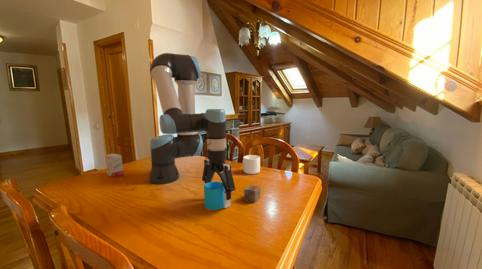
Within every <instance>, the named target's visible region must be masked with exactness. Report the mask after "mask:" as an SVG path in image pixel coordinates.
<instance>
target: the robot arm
mask: <svg viewBox="0 0 482 269" xmlns="http://www.w3.org/2000/svg"><path fill="white" fill-rule="evenodd" d="M149 73H150V77H151V79H152V80H153V81H154V83H155V88H156V92H157V96H158V99H159V102H160V106H161V110H162V114H161V115H160V116H159V129H160V132H161V133H162V135H158V136H155V137H152V138H151V139H150V140H149V141H150V142H149V146H150V147H149V150H150V161H151V168H150V171H149V175H148V181H149V183H151V184H155V185H156V184H157V185H163V184H170V183H173V182H176V181H177V180H179V178H180V173H179V170H178V166H177V164H176V159H181V158H188V157H191V158H192V157H194V156H199V155H200V154H201V152H202V150H203V146H204V144H203V143H204V142H203V137H202V135H201V134H200V133H201V132H206V134H205V135H206V148H207V150H206V158H207V159H204V161H203V171H202V178H201V181H202V182H204V185H205V184H206V183H209V182H213V177H214V176H215V173H216V174H217V175H218V177H219V178H220V182H222V184H223V186H224V189H225V191H224V207H223V209H227V208H230V207H231V200H232V192H233V191H235V190H236V186H235V180H234V178H233V173H232V172H233V171H232V165H231V164H227V163H226V159H227V117H226V110H225V109H224V108H208V109H206V110H205V112H200V113H196V101H195V100H196V97H195V96H196V94H195V91H196V90H195V85H196V84H197V83H198V80H199V79H200V78H201V74H202V69H201V64H200V61H199V59H198V58H197V56H194V55H190V54H179V53H169V52H164V53H161V54H158V55H157V56H156V57H155V58H154V59H153V60H152V62H151V63H150V66H149ZM172 78H173V79H174V82H175V84H176V85H177V90H176V88H175V85H174V82H173V79H172ZM199 132H200V133H199ZM175 134H176V136H175ZM227 188H228V189H227Z"/></svg>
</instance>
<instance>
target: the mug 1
mask: <svg viewBox="0 0 482 269" xmlns="http://www.w3.org/2000/svg"><path fill="white" fill-rule="evenodd" d="M227 189H228V188H227ZM224 191H225V189H224V186H223V184H222V181H212V182H209V183H206V184H205V183H204V185H203V195H204V196H203V198H204V207H205V209H207V210H210V211H217V210H221V209H224Z"/></svg>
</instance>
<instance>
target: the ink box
mask: <svg viewBox="0 0 482 269" xmlns="http://www.w3.org/2000/svg"><path fill="white" fill-rule="evenodd" d="M104 156H105V164H106V173H107V176H110V177H113V178H117V176H118V177H121V176H124V168H123V160H122V159H123V158H122V154H117V153H109V154H105V155H104Z"/></svg>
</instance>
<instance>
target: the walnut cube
mask: <svg viewBox="0 0 482 269" xmlns="http://www.w3.org/2000/svg"><path fill="white" fill-rule="evenodd" d="M243 192H244V193H243V194H244V196H243V197H244V200H243V201H245V202H250V203H255V204H256V203H257V202H258V200H260V198H261V186H258V185H253V184H249V185H247V186H246V187H245V188H244V189H243Z"/></svg>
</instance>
